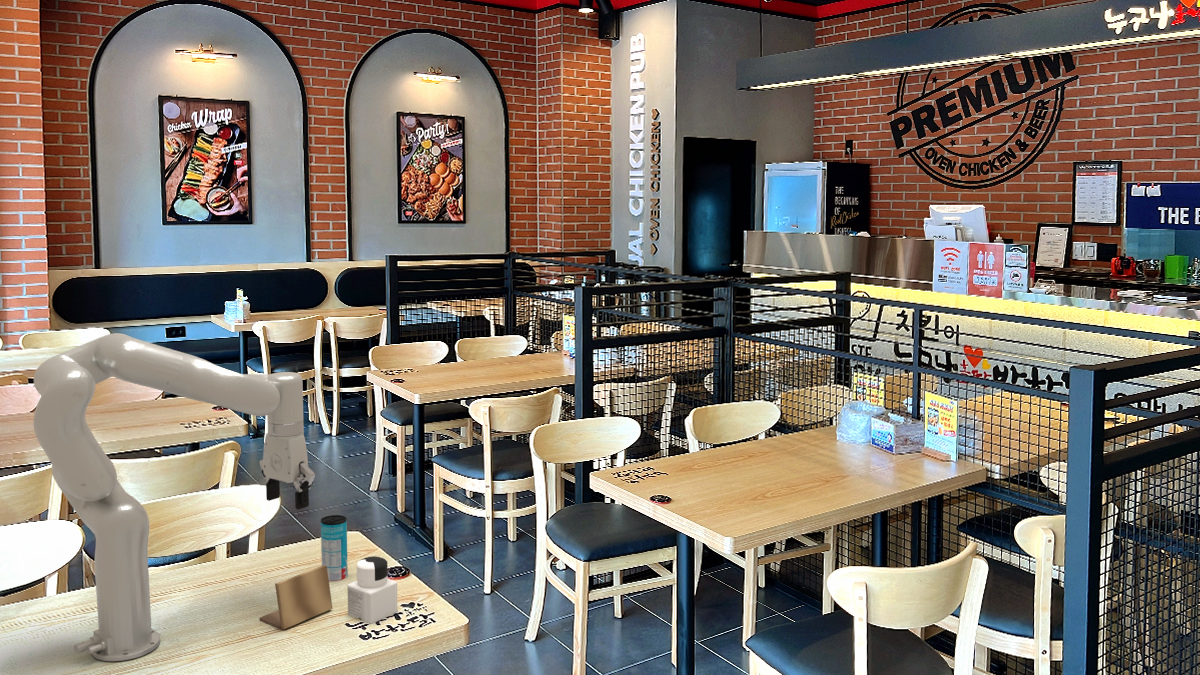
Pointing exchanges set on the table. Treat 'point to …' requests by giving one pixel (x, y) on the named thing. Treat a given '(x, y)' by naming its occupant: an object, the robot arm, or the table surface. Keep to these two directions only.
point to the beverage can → (334, 546)
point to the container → (372, 591)
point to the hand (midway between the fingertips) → (287, 503)
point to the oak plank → (303, 596)
